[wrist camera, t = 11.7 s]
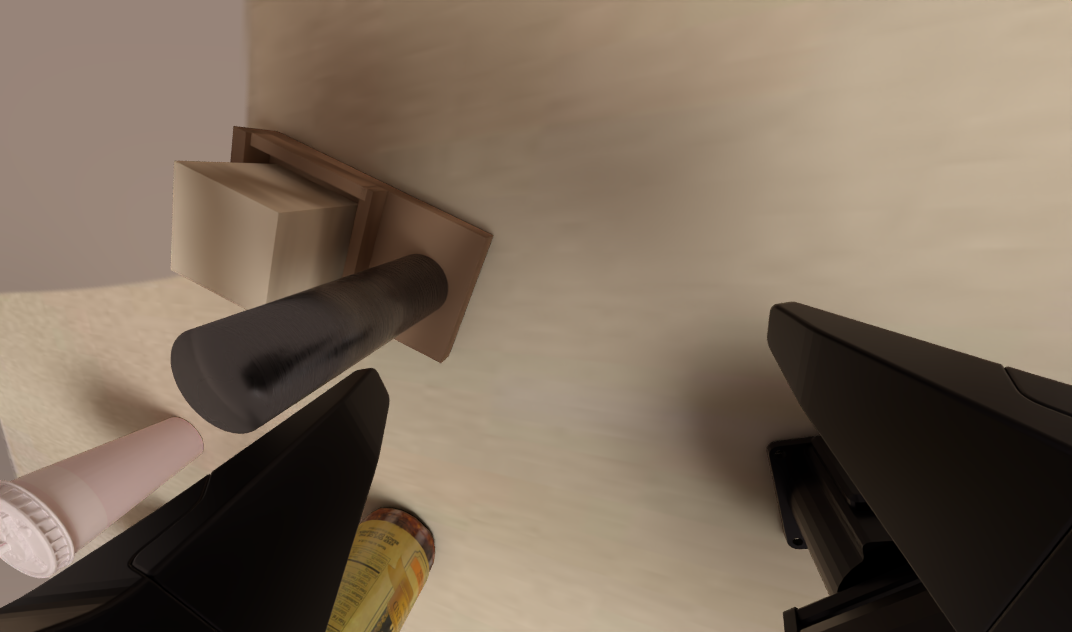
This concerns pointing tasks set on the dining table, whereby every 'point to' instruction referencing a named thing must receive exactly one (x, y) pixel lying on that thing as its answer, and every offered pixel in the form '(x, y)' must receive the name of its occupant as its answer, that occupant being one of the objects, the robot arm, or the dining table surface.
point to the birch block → (256, 230)
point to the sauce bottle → (383, 573)
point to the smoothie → (87, 494)
